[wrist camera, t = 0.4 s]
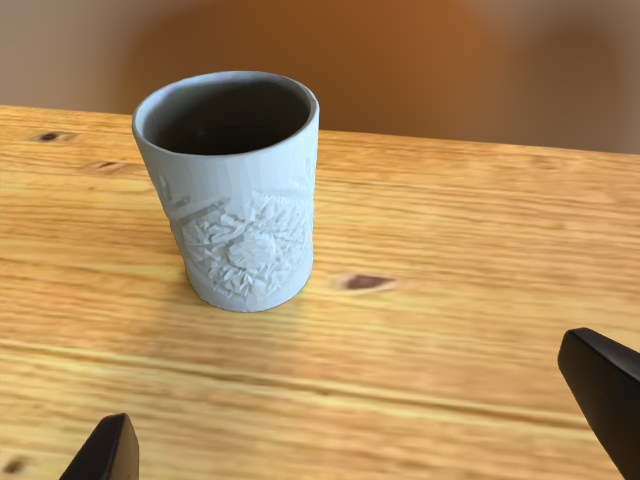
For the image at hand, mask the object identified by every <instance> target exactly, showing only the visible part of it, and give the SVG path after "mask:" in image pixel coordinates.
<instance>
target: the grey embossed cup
mask: <svg viewBox="0 0 640 480" xmlns="http://www.w3.org/2000/svg"><path fill="white" fill-rule="evenodd" d="M318 120H319V105H318V102H317V100H316V98H315V96H314V95H313V94H312V92H311V91H310V90H309V89H308V88H307V87H305V86H304V85H303V84H301V83H299V82H298V81H295V80H292V79H289V78H287V77H284V76H281V75H275V74H271V73H265V72H256V71H226V72H216V73H209V74H204V75H198V76H194V77H190V78H186V79H183V80H180V81H177V82H175V83H172V84H169V85H167V86H165V87H163V88H161V89H159V90H157V91H155V92H154V93H152V94H151V95H149V96H148V97H146V98H145V99H144V100H143V101H142V102H141V103H140V104H139V105H138V107H137V108H136V110H135V112H134V114H133V118H132V132H133V135H134V138H135V140H136V143H137V145H138V148H139V150H140V153H141V155H142V158H143V160H144V163H145V165H146V168H147V170H148V173H149V175H150V178H151V180H152V182H153V184H154V186H155V188H156V191H157V193H158V196H159V198H160V201H161V204H162V206H163V209H164V212H165V214H166V216H167V217H168V219H169V221H170V227H171V231H172V233H173V235H174V237H175V240H176V243H177V245H178V247H179V250H180V252H181V255H182V257H183V260H184V263H185V267H186V273H187V275H188V278H189V280H190V283H191V285H192V287H193V288H194V290H195V291H196V293H197V294H198V295H200V299H202V300H204V301H207V302H209V304H210V305H214V306H215V307H217V308H221V309H225V310H229V311H235V312H237V311H240V312H247V311H248V312H258V311H263V310H267V309H270V308H273V307H276V306H278V305H280V304H282V303H284V302H286V301H288V300H289V299H291V298H292V297H294V296H295V295H296V294H297V293H298V292H299V291H300V290H301V289H302V288H303V286H304V285H305V283H306V281H307V279H308V277H309V275H310V273H311V270H312V263H313V247H312V230H313V215H314V204H313V195H314V184H315V170H316V160H317V144H318Z"/></svg>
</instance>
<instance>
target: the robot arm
mask: <svg viewBox="0 0 640 480" xmlns="http://www.w3.org/2000/svg"><path fill="white" fill-rule="evenodd" d="M558 366H559V369H560V371H561V373H562V375H563V377H564V378H565V380H566V382H567V384H568V386H569V388H570V390H571V391H572V393H573V395H574V397H575V399H576V401H577V403H578V404H579V406H580V408H581V410H582V412H583V414H584V416H585V418H586V419H587V421H588V423H589V425H590V427H591V428H592V430H593V432H594V433H595V435H596V437H597V438H598V440H599V441H600V443H601V444H602V446H603V447H604V449H605V450H606V452H607V453H608V455H609V456H610V458H611V459H612V461H613V462H614V464H615V465H616V467H617V468H618V470H619V471H620V473H621V474H622V476H623V477H624V479H625V480H640V353H638V352H636V351H634V350H632V349H630V348H628V347H626V346H624V345H622V344H620V343H618V342H616V341H614V340H612V339H609V338H607V337H605V336H603V335H601V334H599V333H597V332H595V331H593V330H591V329H588V328H577V329H571V330H568V331H566V333H565V334H564V336H563V340H562V343H561V347H560V351H559V354H558ZM59 480H139V444H138V440H137V437H136V434H135V432H134V429H133V426H132V423H131V421H130V418H129V416H128V415H127V414H126V413H121V414H115V415H110V416H106V417H104V418H103V419H102V420H101V421H100V422H99V424H98V425H97V426H96V428H95V429H94V431H93V432H92V434H91V435H90V436H89V438H88V439H87V441H86V442H85V443H84V445H83V446H82V448H81V449H80V450H79V452H78V453H77V455H76V456H75V457H74V459H73V460H72V462H71V463H70V465H69V466H68V467H67V469H66V470H65V472H64V473H63V474H62V476H61V477H60V479H59Z"/></svg>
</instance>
